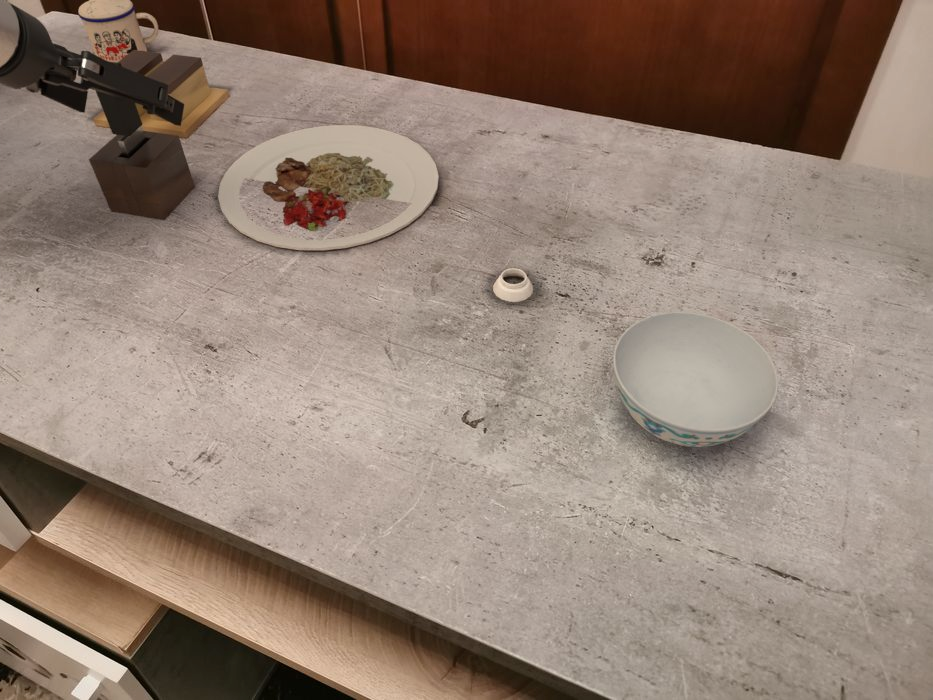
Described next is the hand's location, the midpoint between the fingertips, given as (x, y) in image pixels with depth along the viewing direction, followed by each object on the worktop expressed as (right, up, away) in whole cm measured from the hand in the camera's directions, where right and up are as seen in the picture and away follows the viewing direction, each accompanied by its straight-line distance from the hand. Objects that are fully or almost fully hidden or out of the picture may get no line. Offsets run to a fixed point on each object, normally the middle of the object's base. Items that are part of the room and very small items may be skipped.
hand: (131, 108), depth 91 cm
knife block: (-1, -11, +8) cm, 14 cm away
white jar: (+47, -24, -4) cm, 53 cm away
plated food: (+23, -8, +11) cm, 27 cm away
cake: (-7, +9, +27) cm, 29 cm away
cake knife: (-1, -11, +8) cm, 14 cm away
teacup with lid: (-19, +22, +40) cm, 50 cm away
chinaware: (+63, -37, -17) cm, 75 cm away
